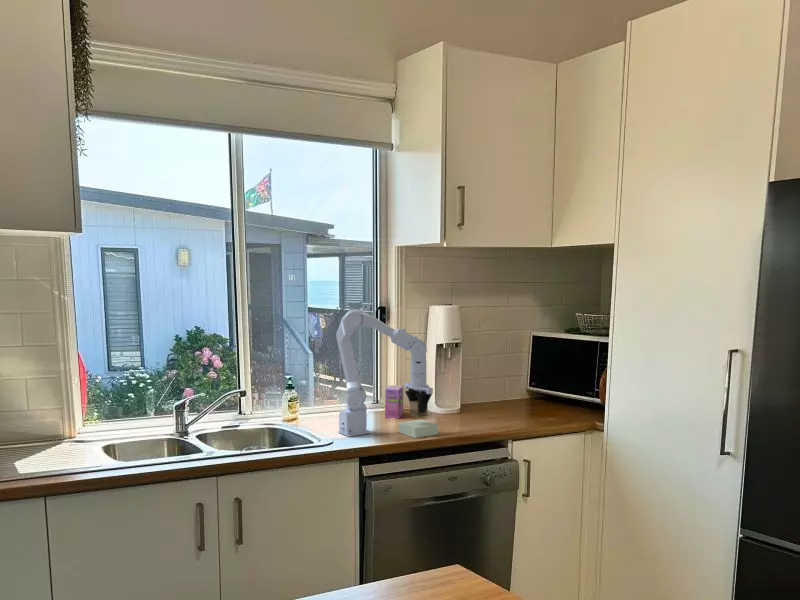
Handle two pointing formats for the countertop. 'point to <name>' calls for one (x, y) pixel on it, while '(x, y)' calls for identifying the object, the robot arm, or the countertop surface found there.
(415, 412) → the walnut block
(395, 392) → the box
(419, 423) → the base block
